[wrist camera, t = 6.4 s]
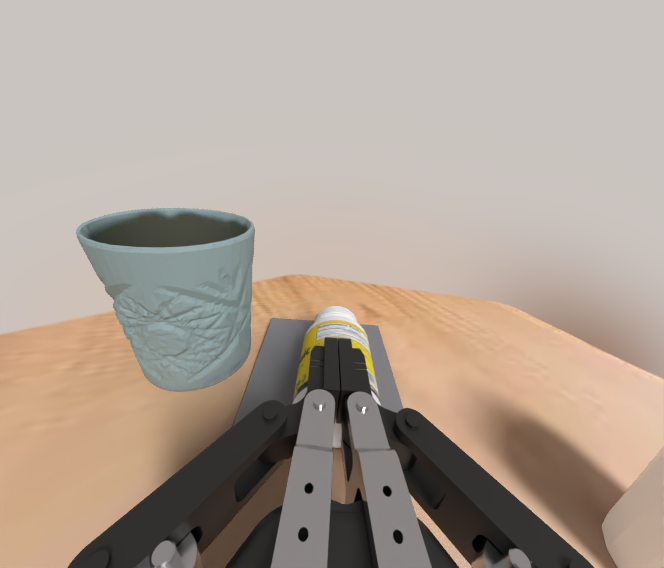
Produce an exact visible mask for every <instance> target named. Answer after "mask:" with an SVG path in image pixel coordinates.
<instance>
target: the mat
mask: <svg viewBox="0 0 664 568" xmlns="http://www.w3.org/2000/svg"><path fill="white" fill-rule="evenodd" d="M314 322H315V321H305V320H292V319H278V318H272V319H271V322H270V325H269V327H268V330H267V333H266V336H265V338H264V341H263V344H262V347H261V350H260V352H259V355H258V358H257V361H256V363H255V366H254V369H253V372H252V374H251V377H250V380H249V383H248V385H247V388H246V391H245V394H244V396H243V399H242V402H241V405H240V407H239V410H238V413H237V416H236V418H235V421H234V424H233V426H234V425H236V424H237V423H238V422H239V421H241V420H242V419H243V418H244V417H245V416H247V415H248V414H249V413H250V412H252V411H253V410H254V409H255V408H256V407H258V406H259V405H260V404H262V403H264V402H266V401H270V400H275V401H279V402H281V403H282V404H283V405H284V406H287V405H291V404H292V403H293V397H294V392H295V386H296V380H297V374H298V368H299V363H300V358H301V352H302V346H303V341H304V337H305V334H306V332H307V331H308V329H309V328H310V327H311V326H312V325H313V324H314ZM359 325H360V326H361V327H362V328H363V329H364V331H365V333H366V335H367V338H368V341H369V347H370V352H371V357H372V363H373V368H374V373H375V378H376V383H377V388H378V393H379V399H380V404H381V406H382V407H383V408H385V409H388V410H391V411H393V412H396V413H398V412H399V411H400V410H401V409H403V406H402V403H401V399H400V396H399V393H398V390H397V386H396V383H395V380H394V377H393V373H392V370H391V367H390V364H389V360H388V357H387V354H386V350H385V347H384V344H383V341H382V337H381V334H380V331H379V328H378V326H374V325H361V324H359Z"/></svg>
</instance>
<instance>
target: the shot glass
mask: <svg viewBox="0 0 664 568" xmlns="http://www.w3.org/2000/svg"><path fill="white" fill-rule="evenodd" d="M602 531H603V535H604V539H605V544H606V548H607V550H608V552H609V554H610V555H611V557H612V559H613V561H614V563H615V564H616V566H617V568H664V447H663V448H662V449H661V450H660V451H659V453H658V454H657V455H656V456H655V457H654V459H653V460H652V461H651V462H650V463H649V465H648V466H647V467H646V468H645V469H644V471H643V472H642V473H641V474H640V475H639V476H638V478H637V479H636V480H635V481H634V482H633V484H632V485H631V486H630V487H629V488H628V490H627V491H626V492H625V493H624V494H623V496H622V497H621V498H620V499H619V500H618V502H617V503H616V504H615V505H614V506H613V507H612V509H611V510H610V511H609V512H608V513H607V515H606V517H605V520H604V522H603V524H602Z"/></svg>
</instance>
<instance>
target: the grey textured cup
mask: <svg viewBox="0 0 664 568" xmlns="http://www.w3.org/2000/svg"><path fill="white" fill-rule="evenodd" d="M254 233H255V229H254V225H253V223H252V222H251V221H250V220H248V219H247V218H245V217H242V216H239V215H236V214H232V213H226V212H221V211H214V210H204V209H186V208H158V209H142V210H132V211H125V212H118V213H113V214H109V215H104V216H102V217H98V218H95V219H92V220H90V221H88V222H85V223H83V224H81V225H80V226H79V227H78V228H77V232H76V234H77V238H78V240H79V242H80V244H81V246H82V247H83V250H84V251H85V253H86V255H87V257H88V259H89V261H90V263H91V264H92V266H93V268H94V270H95V272H96V274H97V276H98V277H99V279H100V280H101V281H102V282H103V284H104V285H105V290H106V292H107V293H108V294H109V295H110V296H111V297H112V298H113V299H114V304H113V308H114V309H115V311H116V316H117V318H118V320H119V322H120V324H121V325H122V326H123V330H124V333H125V335H126V338H128V339H129V340H130V342H131V346H132V348H133V351H134V353H135V356H136V358H137V360H138V362H139V364H140V366H141V369H142V371H143V373H144V375H145V376H146V378H147V379H148V380H149V381H150V382H151V383H153V384H154V385H155V386H157V387H159V388H162V389H165V390H170V391H192V390H198V389H202V388H205V387H209V386H211V385H214V384H217V383H219V382H221V381H222V380H224V379H226V378H228V377H229V376H231V375H232V374H233V373H235V372H236V371H237V370H238V369H239V368H240V367H241V366H242V365H243V363H244V362H245V361H246V359H247V357H248V354H249V351H250V346H251V327H250V324H251V307H250V305H251V299H252V263H253V255H254Z"/></svg>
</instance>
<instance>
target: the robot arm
mask: <svg viewBox="0 0 664 568" xmlns="http://www.w3.org/2000/svg"><path fill="white" fill-rule="evenodd" d="M335 419H336V423H337V424H341V428H342V433H341V439H340V441H341V450H342V459H343V468H344V477H345V487H346V495H345V503H346V504H341V503H339V502H336V501H333V500H331V486H332V467H333V431H334V423H335ZM290 457H292V461H291V466H290V471H289V476H288V482H287V487H286V492H285V497H284V502H283V505H282V506H280V507H278V508H276V509H275V510H273V511H272V512H270V513H269V514H268V515H267V516H266V517H264V518H263V519H262V520H261V521H260V523H259V524H258V525H257V526H256V527H255V528H254V530H253V531H252V532H251V534H250V535H249V536H248V538H247V539H246V540H245V542H244V543H243V544H242V546H241V547H240V548H239V550H238V551H237V552H236V554H235V555H234V556H233V558H232V559H231V560H230V562H229V563H228V564H227V566H226V567H225V568H459V567H458V566H457V564H456V563H455V562H454V560H453V559H452V558H451V557H450V555H449V554H448V553H447V552H446V550H445V549H444V548H443V546H442V545H441V544H440V543H439V541H438V540H437V539H436V537H435V536H434V535H433V534H432V532H431V531H430V530H429V529H428V528H427V527H426V526H425V524H424V523H423V522H422V521H420V520H419V519H418V518H417V517H416V514H415V511H414V507H413V504H412V501H411V497H410V494H411V495H412V497H413V498H414V499H415V500H416V501H417V503H418V504H419V505H420V506H421V507H422V508H423V510H424V511H425V512H426V513H427V514H428V515H429V517H430V518H431V519H432V520H433V521H434V522H435V524H436V525H437V526H438V527H439V528H440V530H441V531H442V532H443V533H444V534H445V535H446V537H447V538H448V539H449V540H450V541H451V542H452V544H453V545H454V546H455V547H456V548H457V550H458V551H459V552H460V553H461V554H462V555H463V557H464V558H465V559H466V560H467V561H468V562H469V564H470V565H471V568H594V567H593V566H592V565H591V564H590V563H589V562H588V561H587V560H586V559H585V558H584V557H583V556H582V555H581V554H580V553H578V552H577V551H576V550H575V549H574V548H573V547H572V546H571V545H569V544H568V543H567V542H566V541H565V540H564V539H563V538H561V537H560V536H559V535H558V534H557V533H556V532H555V531H553V530H552V529H551V528H550V527H549V526H548V525H547V524H546V523H544V522H543V521H542V520H541V519H540V518H539V517H538V516H536V515H535V514H534V513H533V512H532V511H531V510H530V509H528V508H527V507H526V506H525V505H524V504H523V503H522V502H520V501H519V500H518V499H517V498H516V497H515V496H514V495H513V494H511V493H510V492H509V491H508V490H507V489H506V488H505V487H503V486H502V485H501V484H500V483H499V482H498V481H497V480H495V479H494V478H493V477H492V476H491V475H490V474H489V473H488V472H486V471H485V470H484V469H483V468H482V467H481V466H480V465H478V464H477V463H476V462H475V461H474V460H473V459H472V458H470V457H469V456H468V455H467V454H466V453H465V452H464V451H462V450H461V449H460V448H459V447H458V446H457V445H456V444H455V443H453V442H452V441H451V440H450V439H449V438H448V437H447V436H445V435H444V434H443V433H442V432H441V431H440V430H439V429H437V428H436V427H435V426H434V425H433V424H432V423H431V422H429V421H428V420H427V419H426V418H425V417H424V416H423V415H422V414H420V413H419V412H417V411H416V410H413V409H410V408H404V409H401V410H400V411H399V412H398V413H396V412H393V411H391V410H388V409H385V408H383V407H382V406H380V405H379V404H378V403H377V402H376V400H375V399H374V398H373V396H372V393H371V387H370V382H369V377H368V371H367V366H366V361H365V355H364V354H363V352H362V351H361V350H360V348H352V342H351V339H349V338H338V339H337V338H334V337H325V339H324V346H314V348H313V349H312V351H311V354H310V364H309V375H308V385H307V392H306V394H305V396H304V397H303V399H301V400H300V401H299V402H297V403H295V404H291V405H287V406H284V405H283V404H282V403H281V402H279V401H275V400H270V401H266V402H264V403H262V404H260V405H259V406H258V407H256V408H255V409H254V410H253V411H252V412H250V413H249V414H248V415H247V416H245V417H244V418H243V419H242V420H241V421H239V422H238V423H237V424H236V425H234V426H233V427H232V428H231V429H230V430H228V431H227V432H226V433H225V434H223V435H222V436H221V437H220V438H218V439H217V440H216V441H215V442H214V443H212V444H211V445H210V446H209V447H207V448H206V449H205V450H204V451H203V452H201V453H200V454H199V455H198V456H196V457H195V458H194V459H193V460H192V461H190V462H189V463H188V464H187V465H185V466H184V467H183V468H182V469H180V470H179V471H178V472H177V473H176V474H174V475H173V476H172V477H171V478H169V479H168V480H167V481H166V482H165V483H163V484H162V485H161V486H160V487H158V488H157V489H156V490H155V491H153V492H152V493H151V494H150V495H149V496H147V497H146V498H145V499H144V500H142V501H141V502H140V503H139V504H138V505H136V506H135V507H134V508H133V509H131V510H130V511H129V512H128V513H127V514H125V515H124V516H123V517H122V518H120V519H119V520H118V521H117V522H115V523H114V524H113V525H112V526H111V527H109V528H108V529H107V530H106V531H104V532H103V533H102V534H101V535H100V536H98V537H97V538H96V539H95V540H93V541H92V542H91V543H90V544H88V545H87V546H86V547H85V548H84V549H83V550H82V551H81V552H80V553H79V554H78V555H77V556H76V557H75V558H74V560H73V561H72V562H71V563H70V565H69V566H68V568H202V559H201V554H202V552H203V551H204V550H205V549H206V548H207V547H208V546H209V545H210V543H211V542H212V541H213V540H214V539H215V538H216V537H217V536H218V535H219V533H220V532H221V531H222V530H223V529H224V528H225V527H226V526H227V524H228V523H229V522H230V521H231V520H232V519H233V518H234V517H235V515H236V514H237V513H238V512H239V511H240V510H241V509H242V508H243V506H244V505H245V504H246V503H247V502H248V501H249V500H250V499H251V497H252V496H253V495H254V494H255V493H256V492H257V491H258V490H259V488H260V487H261V486H262V485H263V484H264V483H265V482H266V481H267V479H268V478H269V477H270V476H271V475H272V474H273V473H274V472H275V470H276V469H277V468H278V467H279V466H280V465H281V464H282V462H283V461H284V459H287V458H290ZM409 493H410V494H409Z"/></svg>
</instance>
